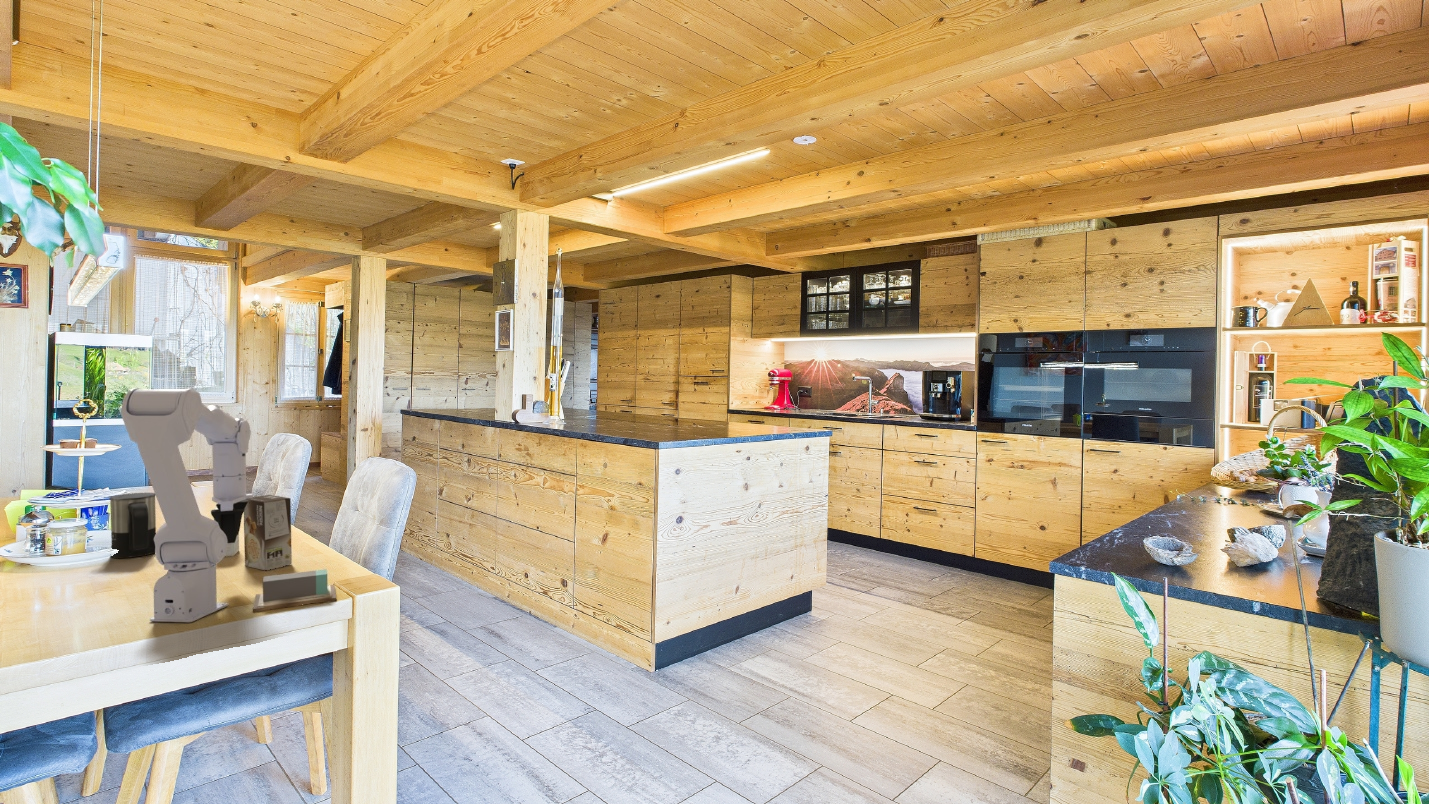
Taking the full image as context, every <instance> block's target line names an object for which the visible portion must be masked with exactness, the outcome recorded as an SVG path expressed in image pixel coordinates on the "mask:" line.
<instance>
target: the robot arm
mask: <svg viewBox="0 0 1429 804" xmlns="http://www.w3.org/2000/svg"><path fill="white" fill-rule="evenodd" d="M120 415H121V418H122V421H123V424H124V426H125V429H126V431H127V434H128V436H129V440H130V441H132V442H134V443H135V444H137V447H138V451H139V455H140V457H141V460H142V463H143V466H144V468H145V470H146V473H147V477H148V478H149V481H150V484H151V487H152V490H153V493H155V499H157V503H158V505H159V508H160V510H161V511H160V512H161V513H162V515H163V518H164V521H165V522H164V523H163V524H162V525H161V526H160V527H159V528H158V530H156V535H155V537H154V542H155V553H154V554H155V555H154V556H155V558H156V560H157V562H158V563H159V564H160V565H161V566H163V570H164V571H166V573H165V574H164V575H163V576H161V577H159V578H158V579H157V580H156V582H155V583H154V586H153V615H154V616H152V617H151V618H149V621H150V622H159V623H160V622H164V623H168V622H169V623H171V622H172V623H192V622H195V621H196V620H199V619H201V618H204V617H205V616H208V615H211V614H212V613H215V612H218V611H219V610H222V609H223V608H225V607H228V606H229V603H228V602H217V598H218V597H217V592H218V591H217V590H218V589H217V565H218V563H220V562H221V561H222V560H223V559H224V558H225V557H224V556H225V554H226V551H227V544H228V543H235V541H236V537H237V535H238V533H239V534H240V530H241V524H242V519H243V516H244V510H245V507H246V505H247V503H248V500H245V499H247V498H253V497H254V493H247V468H246V467H247V464H246V463H247V462H246V461H247V459H246V453H248V452H249V443H250V440H251V434H252V433H251V432H252V431H251V430H252V429H251V427H250V426H251V425H250V423H249V421H247V420H245V419H244V418H240V417H239V418H235V417H233V416H232V415H230V413H228V412H226V411H224V410H223V409H221V406H220V405H218V404H209V405H205V404H204V403H203V402H202V397H201V393H200V392H198V391H197V390H195V388H185V389H184V388H181V389H177V388H175V389H174V388H173V389H172V388H171V389H169V388H167V389H165V388H163V389H161V388H160V389H159V388H158V389H157V388H153V389H152V388H151V389H150V388H148V389H147V388H145V389H144V388H143V389H142V388H138V387H137V388H136V387H135V388H131V389H130V390H128V391H127V393H126V394H125V395H124V397H123V399H122V405H121V408H120ZM194 431H196V432H198V433H200V434H201V435H203V436H204V438H205V439H206V442H207V444H208V445H209V446H211V448H212V450H211V451H212V498H211V501H212V502H213V503H216V504H215V508H216V507H217V508H218V509H217V510H214V509H211V510H210V515H211V516H212V518H213V519H212V518H209V517H207V516H205V515H202V513H201V512H200V509H199V505H198V502H197V500H196V497H195V494H194V491H193V488H192V485H191V482H190V481H191V480H190V479H189V476H188V473H187V469H186V467H185V464H184V461H183V459H182V456H181V452H180V450H179V446H180V445H182V444H184V443H186V442H188V441H190V440H191V438H192V436H193V433H194ZM214 519H215V521H214Z"/></svg>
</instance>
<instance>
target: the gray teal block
mask: <svg viewBox="0 0 1429 804" xmlns="http://www.w3.org/2000/svg"><path fill="white" fill-rule="evenodd" d="M327 585H328V569H327V568H326V569H316V570H308V571H300V572H291V573H283V574H275V575H267V576H265V575H264V576H263V579H262V594H263V602H268V601H275V600H283V599H290V598H298V597H305V596H313V595H320V594H328V589H327Z"/></svg>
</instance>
